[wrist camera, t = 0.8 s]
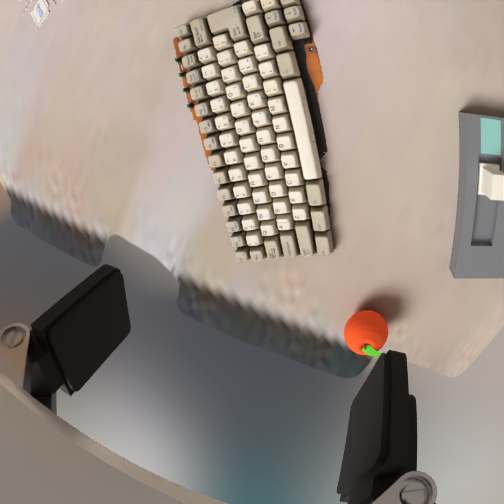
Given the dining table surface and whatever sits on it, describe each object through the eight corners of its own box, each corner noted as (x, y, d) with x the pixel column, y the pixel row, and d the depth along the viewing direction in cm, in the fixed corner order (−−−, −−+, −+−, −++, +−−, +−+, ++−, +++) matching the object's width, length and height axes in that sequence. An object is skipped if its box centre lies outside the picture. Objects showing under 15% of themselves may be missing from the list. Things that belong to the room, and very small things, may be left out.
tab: (478, 162, 30) (490, 169, 26) (497, 163, 29) (511, 171, 25) (476, 192, 31) (488, 203, 28) (495, 194, 30) (508, 205, 27)
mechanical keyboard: (356, 248, 43) (356, 260, 41) (235, 258, 51) (228, 269, 48) (298, -14, 29) (293, -22, 26) (172, 29, 36) (159, 26, 33)
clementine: (400, 321, 46) (402, 351, 40) (370, 343, 49) (368, 374, 43) (366, 293, 45) (366, 323, 39) (336, 318, 49) (332, 348, 43)
